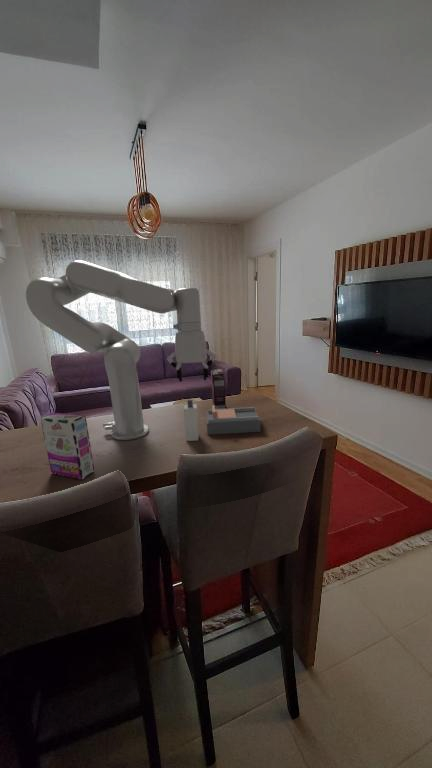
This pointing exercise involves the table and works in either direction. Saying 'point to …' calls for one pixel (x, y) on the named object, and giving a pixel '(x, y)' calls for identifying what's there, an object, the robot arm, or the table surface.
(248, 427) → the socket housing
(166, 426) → the table surface
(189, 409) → the plug
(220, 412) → the shutter
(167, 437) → the table surface
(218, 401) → the supplement box
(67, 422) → the candy bar box
